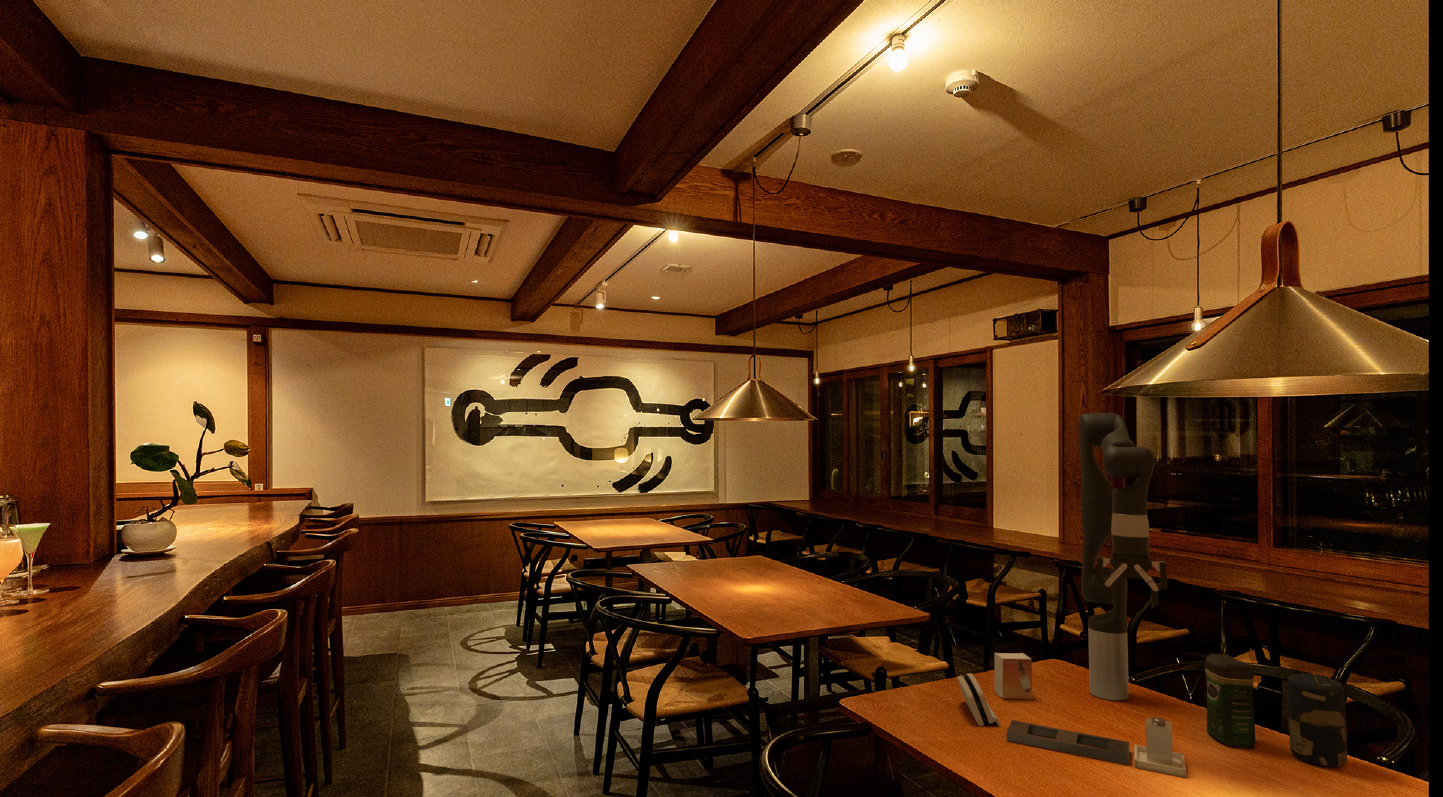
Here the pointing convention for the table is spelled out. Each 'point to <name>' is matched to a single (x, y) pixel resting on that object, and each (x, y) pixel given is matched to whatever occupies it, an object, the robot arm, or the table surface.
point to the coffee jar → (1230, 701)
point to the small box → (1013, 676)
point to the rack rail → (1069, 742)
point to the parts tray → (1176, 770)
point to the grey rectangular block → (1159, 741)
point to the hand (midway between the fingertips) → (1131, 604)
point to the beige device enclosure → (976, 700)
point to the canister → (1317, 719)
